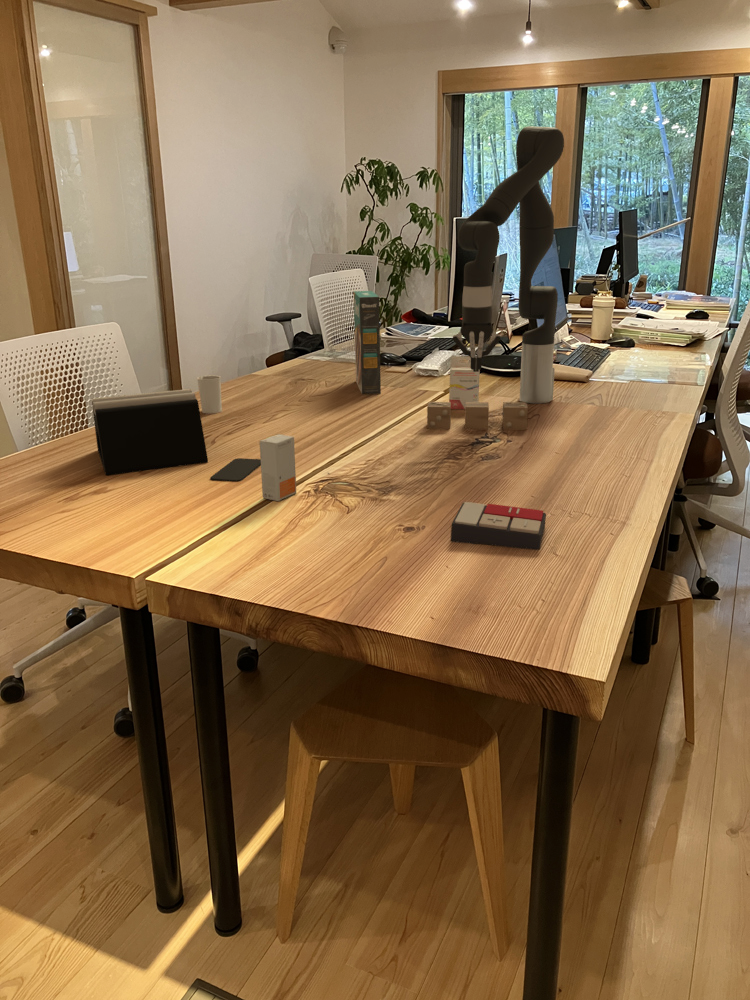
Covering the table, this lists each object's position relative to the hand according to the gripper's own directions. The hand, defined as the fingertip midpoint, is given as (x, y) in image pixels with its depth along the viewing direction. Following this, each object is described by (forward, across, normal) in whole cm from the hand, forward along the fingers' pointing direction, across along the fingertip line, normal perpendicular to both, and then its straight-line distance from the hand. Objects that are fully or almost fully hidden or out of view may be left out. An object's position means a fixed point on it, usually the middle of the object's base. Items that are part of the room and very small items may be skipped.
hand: (476, 371), depth 206 cm
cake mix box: (+15, -35, +46) cm, 60 cm away
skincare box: (+12, -39, -62) cm, 75 cm away
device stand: (+13, -77, -36) cm, 86 cm away
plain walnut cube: (+14, 0, -4) cm, 15 cm away
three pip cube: (+14, -10, -4) cm, 17 cm away
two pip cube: (+14, +10, -4) cm, 18 cm away
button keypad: (+12, +4, -80) cm, 81 cm away
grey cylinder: (+14, -77, +10) cm, 79 cm away
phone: (+13, -53, -46) cm, 71 cm away
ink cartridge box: (+15, -3, +18) cm, 23 cm away
